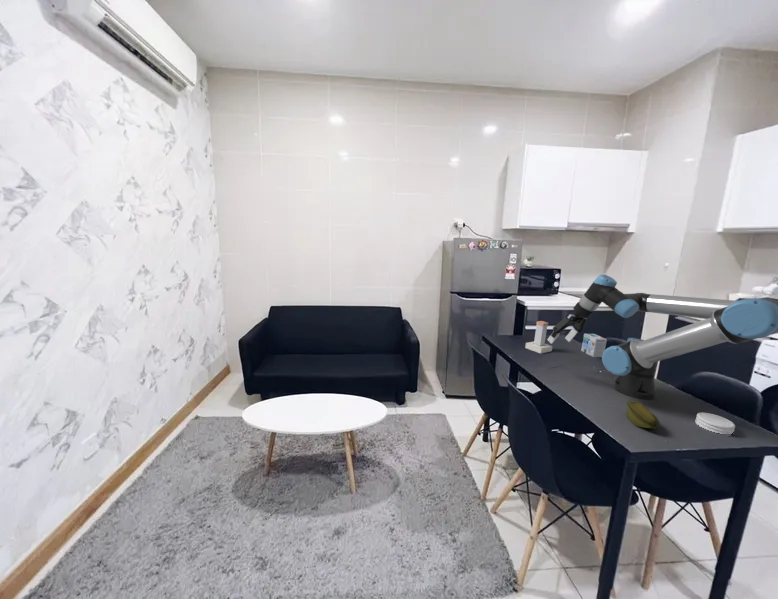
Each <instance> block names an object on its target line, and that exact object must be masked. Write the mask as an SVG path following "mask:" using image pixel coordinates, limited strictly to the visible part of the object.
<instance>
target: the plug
mask: <svg viewBox="0 0 778 599" xmlns="http://www.w3.org/2000/svg"><path fill="white" fill-rule="evenodd" d="M535 324H536V326H535V327H536V328H535V333H534V341H533V342H534V344H535V345H537V346H544V345H545V344H546V339H547V338H546V337H547V329H548V326H549V322H546V321H544V320H539V321H536V323H535Z"/></svg>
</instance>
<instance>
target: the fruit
mask: <svg viewBox="0 0 778 599" xmlns="http://www.w3.org/2000/svg"><path fill="white" fill-rule="evenodd" d="M626 404H627V408H626V417H627V419H628V420H629V422H630V423H631V424H633V425H634V426H635V427H640V428H644V429H651V430H657V429H658V425H659V424H660V420H659V418H658V417H657V416H656V415H655V414H654V413H652V412H651V410H649V408H648V407H647V406H645V404H643V403H641V402H639V401H638V400H637V401H636V400H635V401H631V400H630V401H627V402H626Z"/></svg>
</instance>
